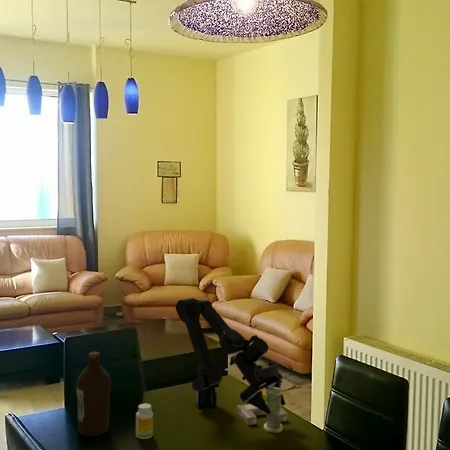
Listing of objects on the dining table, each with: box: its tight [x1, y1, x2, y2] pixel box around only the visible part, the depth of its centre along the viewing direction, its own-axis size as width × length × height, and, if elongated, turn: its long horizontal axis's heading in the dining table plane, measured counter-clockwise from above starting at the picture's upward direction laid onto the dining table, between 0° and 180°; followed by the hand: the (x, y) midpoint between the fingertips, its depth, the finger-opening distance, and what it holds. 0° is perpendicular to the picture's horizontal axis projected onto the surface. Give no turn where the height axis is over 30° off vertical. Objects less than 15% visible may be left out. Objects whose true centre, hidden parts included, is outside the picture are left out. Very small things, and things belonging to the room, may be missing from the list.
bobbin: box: [263, 387, 284, 434], centre depth 193 cm, size 6×6×13 cm
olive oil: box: [75, 351, 112, 437], centre depth 189 cm, size 11×11×25 cm
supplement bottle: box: [135, 403, 154, 440], centre depth 186 cm, size 5×5×10 cm
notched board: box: [236, 402, 288, 426], centre depth 203 cm, size 14×11×2 cm
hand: (277, 409), depth 192 cm, fingers open, 9 cm apart
